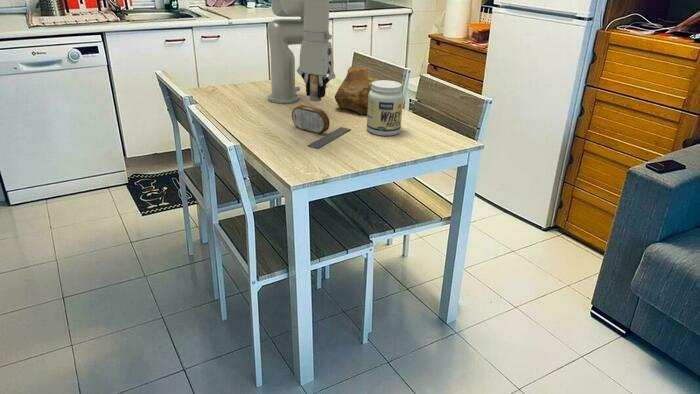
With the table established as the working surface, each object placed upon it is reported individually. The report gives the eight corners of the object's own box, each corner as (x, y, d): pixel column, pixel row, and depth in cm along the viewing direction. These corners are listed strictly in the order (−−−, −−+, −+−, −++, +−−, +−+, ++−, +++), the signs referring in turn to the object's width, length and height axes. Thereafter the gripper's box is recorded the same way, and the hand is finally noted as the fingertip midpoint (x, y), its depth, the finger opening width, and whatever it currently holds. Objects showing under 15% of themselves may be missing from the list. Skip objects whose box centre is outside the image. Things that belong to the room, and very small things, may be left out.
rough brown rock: (325, 104, 218) (323, 68, 210) (361, 97, 224) (361, 62, 216) (349, 123, 200) (348, 84, 192) (388, 115, 205) (388, 77, 198)
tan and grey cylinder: (313, 97, 171) (313, 72, 168) (323, 99, 170) (323, 74, 166) (307, 99, 169) (307, 74, 165) (317, 101, 167) (317, 76, 164)
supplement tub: (377, 138, 181) (380, 89, 174) (360, 127, 191) (362, 80, 183) (407, 134, 186) (411, 86, 179) (389, 123, 196) (392, 78, 189)
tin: (329, 134, 183) (330, 110, 180) (324, 136, 181) (324, 112, 177) (296, 125, 191) (296, 102, 187) (290, 127, 188) (290, 104, 185)
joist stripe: (340, 128, 189) (340, 127, 189) (350, 130, 188) (350, 129, 188) (307, 146, 172) (307, 145, 172) (318, 148, 170) (318, 147, 170)
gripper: (346, 38, 160) (344, 97, 168) (300, 32, 167) (300, 89, 175) (333, 41, 154) (332, 103, 162) (286, 35, 161) (287, 94, 169)
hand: (315, 95), depth 169 cm, fingers closed on tan and grey cylinder, 3 cm apart
